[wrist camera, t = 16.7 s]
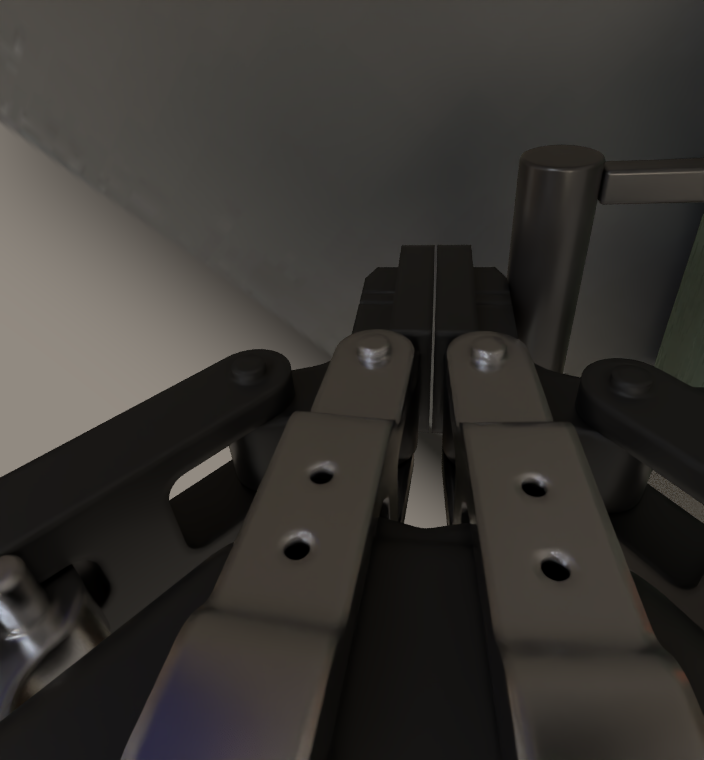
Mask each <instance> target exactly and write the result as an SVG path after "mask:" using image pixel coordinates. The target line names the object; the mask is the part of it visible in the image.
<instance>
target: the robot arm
mask: <svg viewBox="0 0 704 760" xmlns="http://www.w3.org/2000/svg"><path fill="white" fill-rule="evenodd" d="M434 251H435V245H402V246H401V253H400V260H399V266H398V267H377V268H376V269H375V270H374V271H373V272H372V273H371V274H370V275H369V276H368V277H366V278H365V282H364V286H363V290H362V295H361V299H360V304H359V307H358V311H357V315H356V319H355V323H354V327H353V331H352V334H351V335H349V336H347V337H346V338H344V339H343V340H342V341H341V342H340V343H339V344H338V345H337V347H336V349H335V351H334V354H333V356H332V359H331V361H329V362H327V363H324V364H321V365H317V366H313V367H308V368H303V369H297V370H291V366H290V362H289V360H288V359H287V358H286V357H285V356H283V355H282V354H280V353H278V352H275V351H272V350H265V349H254V350H247V351H242V352H239V353H236V354H233V355H231V356H229V357H227V358H225V359H223V360H221V361H219V362H217V363H215V364H213V365H212V366H210V367H208V368H206V369H204V370H202V371H200V372H198V373H196V374H195V375H193V376H191V377H189V378H187V379H185V380H183V381H181V382H179V383H178V384H176V385H174V386H172V387H170V388H168V389H166V390H164V391H162V392H161V393H159V394H157V395H155V396H153V397H151V398H150V399H148V400H146V401H144V402H142V403H140V404H138V405H136V406H134V407H132V408H130V409H129V410H127V411H125V412H123V413H121V414H119V415H117V416H115V417H114V418H112V419H110V420H108V421H106V422H104V423H102V424H100V425H98V426H97V427H95V428H93V429H91V430H89V431H87V432H85V433H83V434H82V435H80V436H78V437H76V438H74V439H72V440H70V441H68V442H66V443H65V444H63V445H61V446H59V447H57V448H55V449H53V450H51V451H49V452H48V453H46V454H44V455H42V456H40V457H38V458H36V459H34V460H32V461H31V462H29V463H27V464H25V465H23V466H21V467H19V468H18V469H16V470H14V471H12V472H10V473H8V474H6V475H4V476H2V477H0V760H704V524H703V523H702V522H700V521H699V520H698V519H696V518H695V517H693V516H692V515H691V514H689V513H688V512H687V511H685V510H684V509H682V508H681V507H680V506H678V505H677V504H675V503H674V502H673V501H671V500H670V499H668V498H667V497H666V496H664V495H663V494H661V493H660V492H659V491H657V490H656V489H654V488H653V487H652V486H650V485H649V484H647V482H648V479H649V477H650V474H651V472H652V470H654V471H655V472H657V473H658V474H660V475H661V476H663V477H664V478H666V479H667V480H668V481H670V482H671V483H673V484H674V485H676V486H677V487H679V488H680V489H681V490H683V491H684V492H686V493H687V494H689V495H690V496H692V497H693V498H694V499H696V500H697V501H699V502H700V503H702V504H703V505H704V393H703V392H701V391H699V390H697V389H695V388H694V387H692V386H690V385H688V384H686V383H684V382H683V381H681V380H679V379H677V378H675V377H673V376H671V375H670V374H668V373H666V372H664V371H662V370H660V369H658V368H656V367H654V366H652V365H649V364H647V363H644V362H640V361H636V360H631V359H622V358H611V359H603V360H599V361H596V362H594V363H592V364H590V365H589V366H587V367H586V368H585V369H584V371H583V373H582V376H581V378H579V377H575V376H571V375H566V374H562V373H558V372H554V371H551V370H548V369H545V368H543V367H541V366H539V365H537V364H535V363H534V362H533V359H532V356H531V353H530V351H529V349H528V348H527V346H526V345H525V344H524V343H522V342H521V341H520V340H519V339H518V334H517V329H516V323H515V318H514V312H513V307H512V302H511V296H510V291H509V285H508V280H507V278H506V277H505V276H504V275H503V274H502V273H501V272H500V271H499V270H498V269H496V268H495V267H473V261H472V249H471V245H438V246H437V279H436V311H435V345H434V380H433V415H432V433H443V437H442V440H443V441H442V443H443V444H442V477H443V486H444V498H445V508H446V519H447V526H443V527H436V528H427V529H426V528H418V527H414V526H411V525H407V524H404V520H405V514H406V508H407V502H408V496H409V490H410V484H411V477H412V472H413V466H414V452H415V450H416V448H417V441H418V432H421V433H429V409H430V381H431V353H432V324H433V288H434ZM227 446H229V448H230V452H231V455H232V460H231V461H229V462H228V463H226V464H225V465H223V466H221V467H220V468H219V469H217V470H215V471H214V472H212V473H211V474H209V475H208V476H206V477H205V478H203V479H202V480H200V481H199V482H197V483H195V484H194V485H192V486H191V487H190V488H188V489H186V490H185V491H183V492H182V493H180V494H179V495H177V496H175V497H174V498H172V499H171V500H169V494H170V491H171V488H172V486H173V485H174V483H175V482H176V481H177V480H178V479H179V478H180V477H181V476H182V475H183V474H185V473H186V472H188V471H189V470H191V469H193V468H194V467H196V466H198V465H199V464H201V463H202V462H204V461H205V460H207V459H209V458H210V457H212V456H213V455H215V454H217V453H218V452H220V451H221V450H223V449H224V448H226V447H227Z"/></svg>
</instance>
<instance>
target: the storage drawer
mask: <svg viewBox="0 0 704 760" xmlns="http://www.w3.org/2000/svg"><path fill="white" fill-rule="evenodd" d="M597 200H599V202H600V203H601V204H646V203H690V202H704V158H693V159H664V160H635V161H606V162H605V157H604V155H603V154H602V153H601V152H599V151H597V150H594V149H591V148H587V147H582V146H575V145H549V146H542V147H537V148H533V149H530V150H528V151H526V152H524V153H523V154H522V155H521V157H520V160H519V169H518V178H517V188H516V197H515V206H514V216H513V225H512V234H511V243H510V253H509V262H508V271H507V280H508V285H509V291H510V296H511V302H512V307H513V312H514V318H515V323H516V329H517V334H518V339H519V340H520V341H521V342H522V343H524V344H525V345H526V346H527V348H528V349H529V351H530V353H531V356H532V359H533V362H534V363H535V364H537V365H539V366H541V367H543V368H545V369H548V370H551V371H554V372H558V373H562V374H563V370H564V365H565V360H566V355H567V350H568V345H569V340H570V335H571V330H572V325H573V320H574V315H575V310H576V305H577V300H578V295H579V290H580V285H581V280H582V275H583V270H584V265H585V260H586V255H587V250H588V245H589V240H590V235H591V230H592V225H593V220H594V215H595V210H596V205H597ZM654 367H656V368H658V369H660V370H662V371H664V372H666V373H668V374H670V375H671V376H673V377H675V378H677V379H679V380H681V381H683V382H684V383H686V384H688V385H690V386H692V387H694V388H695V389H697V390H699V391H701V392H703V393H704V213H703V216H702V219H701V222H700V225H699V229H698V232H697V235H696V238H695V241H694V244H693V247H692V250H691V253H690V256H689V259H688V263H687V266H686V269H685V272H684V275H683V278H682V281H681V284H680V287H679V290H678V293H677V297H676V300H675V303H674V306H673V309H672V312H671V315H670V318H669V321H668V324H667V327H666V331H665V334H664V337H663V340H662V343H661V346H660V349H659V352H658V355H657V358H656V361H655V365H654Z"/></svg>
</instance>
